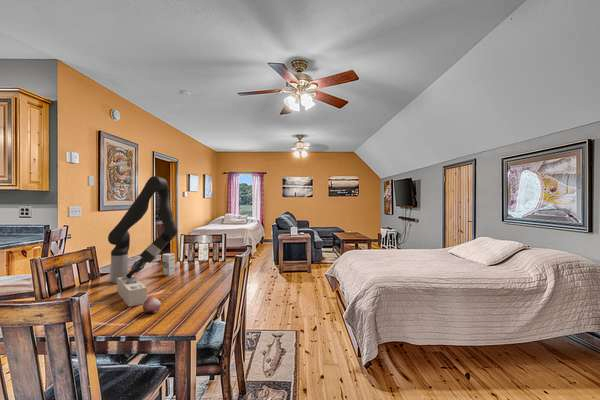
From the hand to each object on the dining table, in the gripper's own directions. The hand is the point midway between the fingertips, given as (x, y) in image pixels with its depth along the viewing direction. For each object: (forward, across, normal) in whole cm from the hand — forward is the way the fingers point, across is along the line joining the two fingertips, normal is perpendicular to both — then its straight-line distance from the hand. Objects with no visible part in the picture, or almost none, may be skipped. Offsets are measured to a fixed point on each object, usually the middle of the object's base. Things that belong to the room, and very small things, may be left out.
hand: (127, 277), depth 170 cm
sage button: (+2, +22, +2) cm, 22 cm away
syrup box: (-15, -25, +28) cm, 40 cm away
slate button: (+1, +11, +1) cm, 11 cm away
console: (+6, +11, +6) cm, 14 cm away
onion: (+5, +41, +8) cm, 42 cm away
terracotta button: (+2, 0, +2) cm, 3 cm away
